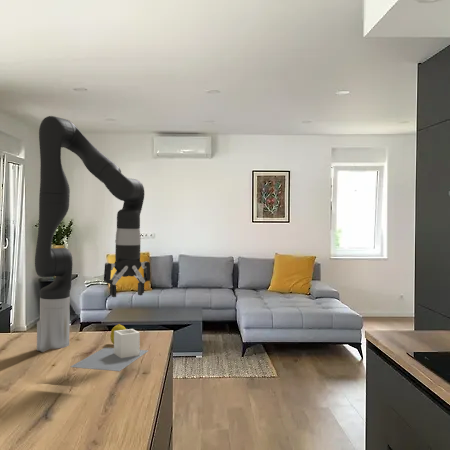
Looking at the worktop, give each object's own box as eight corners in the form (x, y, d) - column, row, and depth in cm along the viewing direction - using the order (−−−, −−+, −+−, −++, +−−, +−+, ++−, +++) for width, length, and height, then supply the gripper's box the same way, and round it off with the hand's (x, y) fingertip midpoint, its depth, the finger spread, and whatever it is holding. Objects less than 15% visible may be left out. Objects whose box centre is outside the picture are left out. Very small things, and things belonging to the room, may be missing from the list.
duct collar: (120, 358, 150) (121, 334, 150) (113, 353, 155) (114, 330, 155) (139, 355, 153) (139, 332, 153) (132, 350, 158) (132, 328, 158)
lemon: (129, 345, 170) (129, 322, 170) (124, 350, 164) (124, 325, 164) (113, 345, 171) (113, 321, 170) (108, 349, 165) (108, 325, 165)
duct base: (69, 372, 141) (70, 366, 141) (105, 351, 162) (105, 347, 162) (119, 376, 137) (119, 371, 137) (148, 355, 159) (148, 350, 159)
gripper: (109, 244, 147) (109, 299, 147) (154, 243, 154) (153, 296, 155) (101, 243, 153) (100, 295, 153) (144, 242, 161) (143, 292, 161)
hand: (127, 296), depth 154 cm, fingers open, 8 cm apart
